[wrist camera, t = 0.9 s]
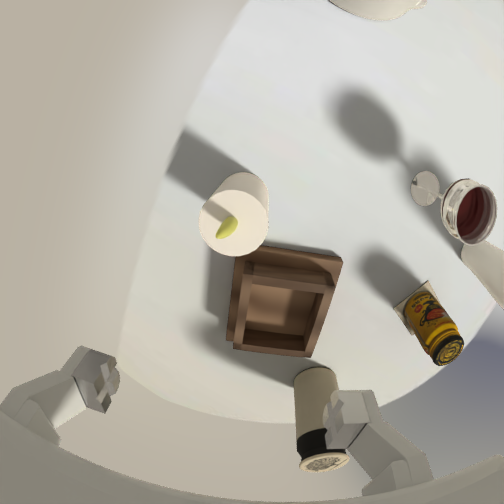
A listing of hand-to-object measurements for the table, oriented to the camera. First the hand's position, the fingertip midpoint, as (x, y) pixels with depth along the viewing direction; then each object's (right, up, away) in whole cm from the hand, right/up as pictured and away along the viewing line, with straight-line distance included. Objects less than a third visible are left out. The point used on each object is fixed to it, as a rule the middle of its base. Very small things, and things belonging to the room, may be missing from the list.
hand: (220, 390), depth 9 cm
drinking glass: (+37, +5, +26) cm, 45 cm away
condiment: (+29, -5, +31) cm, 43 cm away
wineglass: (+25, +14, +23) cm, 37 cm away
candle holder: (+5, -2, +31) cm, 32 cm away
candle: (0, +12, +26) cm, 28 cm away
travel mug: (+13, -19, +39) cm, 45 cm away
